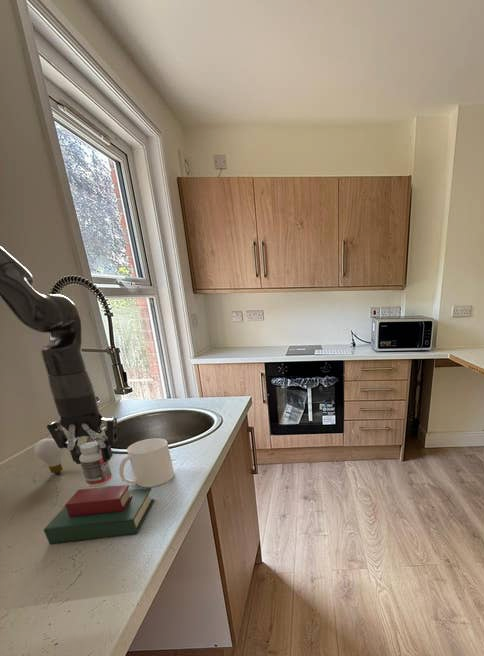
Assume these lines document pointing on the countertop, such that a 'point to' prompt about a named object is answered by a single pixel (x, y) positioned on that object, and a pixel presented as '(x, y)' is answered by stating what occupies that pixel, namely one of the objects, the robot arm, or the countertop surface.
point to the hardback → (101, 521)
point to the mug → (149, 463)
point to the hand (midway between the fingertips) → (94, 461)
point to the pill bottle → (94, 465)
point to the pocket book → (98, 501)
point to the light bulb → (50, 454)
